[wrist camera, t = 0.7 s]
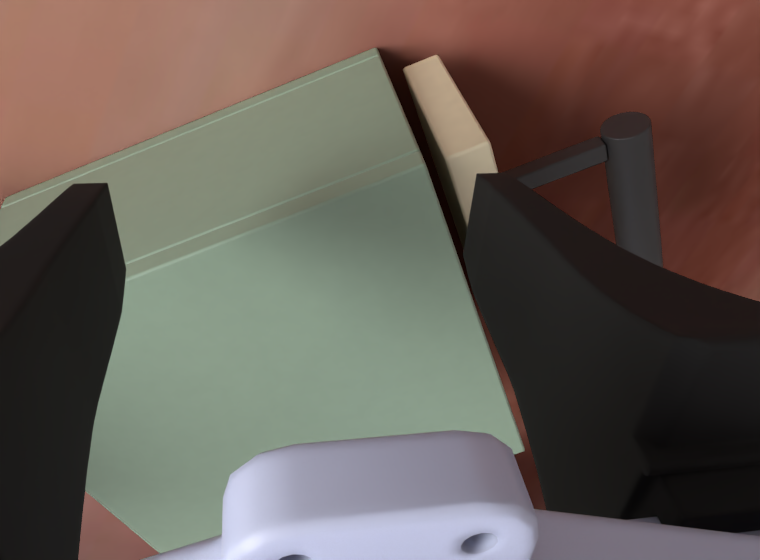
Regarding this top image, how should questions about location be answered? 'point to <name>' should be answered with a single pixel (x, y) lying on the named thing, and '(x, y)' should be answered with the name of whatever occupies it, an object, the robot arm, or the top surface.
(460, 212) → the drawer
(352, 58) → the cabinet
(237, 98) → the top surface
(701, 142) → the top surface
